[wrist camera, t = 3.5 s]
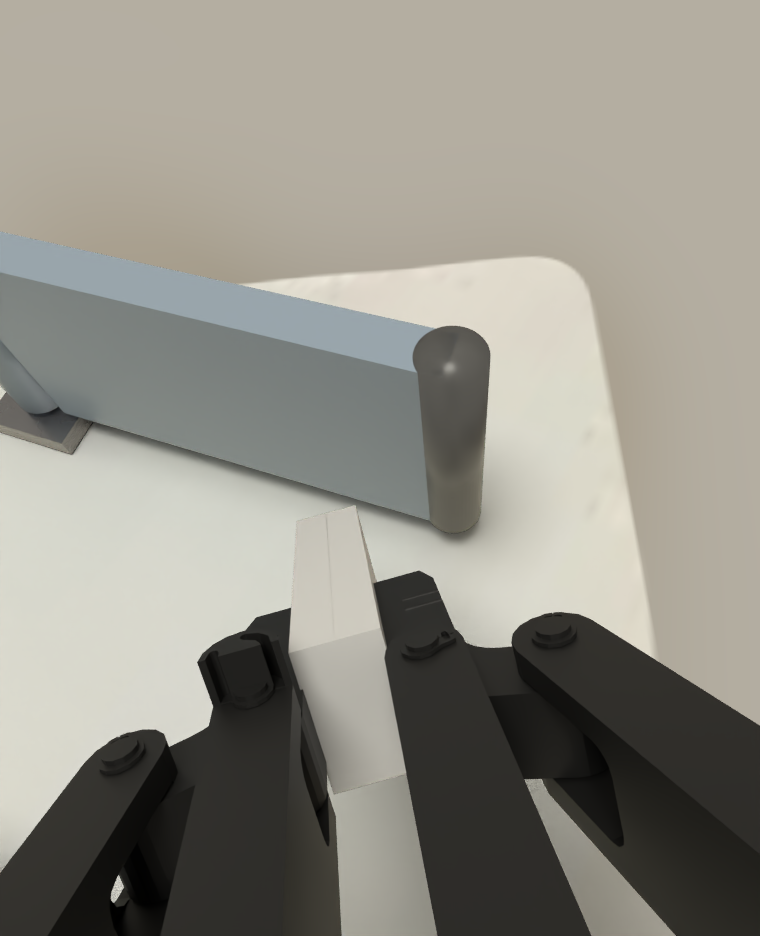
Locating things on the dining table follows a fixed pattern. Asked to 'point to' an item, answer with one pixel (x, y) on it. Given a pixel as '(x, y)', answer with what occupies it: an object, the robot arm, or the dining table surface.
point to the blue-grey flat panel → (250, 377)
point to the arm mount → (42, 426)
